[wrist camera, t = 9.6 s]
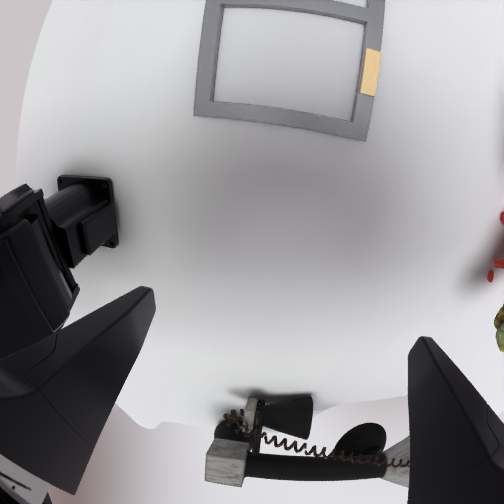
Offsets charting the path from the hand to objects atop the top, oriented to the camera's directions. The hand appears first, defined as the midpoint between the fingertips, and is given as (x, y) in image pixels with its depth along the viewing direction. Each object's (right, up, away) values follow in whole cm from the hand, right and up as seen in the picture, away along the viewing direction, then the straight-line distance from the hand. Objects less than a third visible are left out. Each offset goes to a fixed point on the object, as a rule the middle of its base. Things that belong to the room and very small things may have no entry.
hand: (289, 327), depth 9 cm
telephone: (+8, -21, +26) cm, 35 cm away
